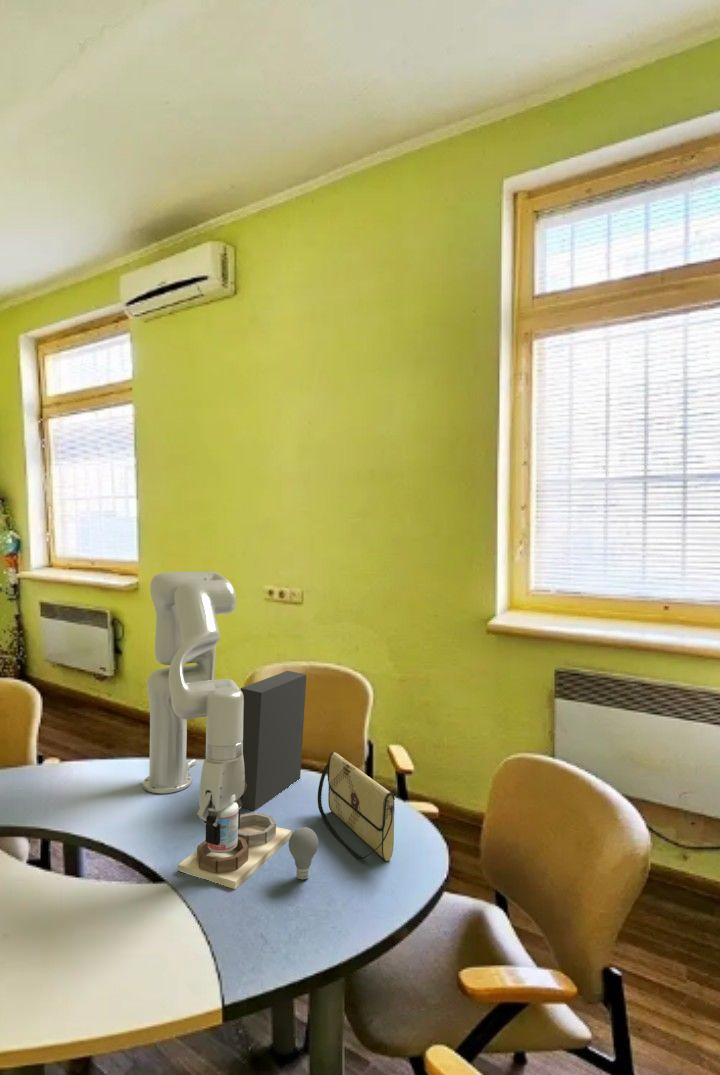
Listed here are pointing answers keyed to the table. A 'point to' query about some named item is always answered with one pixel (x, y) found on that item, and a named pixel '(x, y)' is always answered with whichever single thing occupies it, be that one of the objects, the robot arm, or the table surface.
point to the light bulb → (303, 849)
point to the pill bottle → (227, 828)
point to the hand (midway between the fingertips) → (223, 834)
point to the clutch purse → (359, 806)
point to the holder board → (238, 852)
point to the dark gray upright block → (272, 736)
